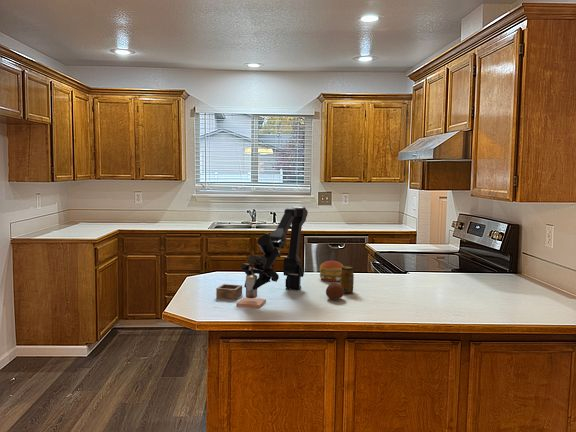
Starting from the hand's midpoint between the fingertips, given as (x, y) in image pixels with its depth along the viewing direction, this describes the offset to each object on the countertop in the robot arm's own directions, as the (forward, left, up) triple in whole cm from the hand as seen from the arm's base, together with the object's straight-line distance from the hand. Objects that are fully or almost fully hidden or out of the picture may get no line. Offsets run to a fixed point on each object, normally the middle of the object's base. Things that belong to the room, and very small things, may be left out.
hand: (249, 288), depth 223 cm
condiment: (-38, -33, -7) cm, 51 cm away
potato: (-34, -20, -7) cm, 40 cm away
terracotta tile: (-1, -1, -7) cm, 7 cm away
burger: (-27, -59, -7) cm, 65 cm away
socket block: (+12, -10, -7) cm, 17 cm away
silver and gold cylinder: (-1, -1, -4) cm, 4 cm away
